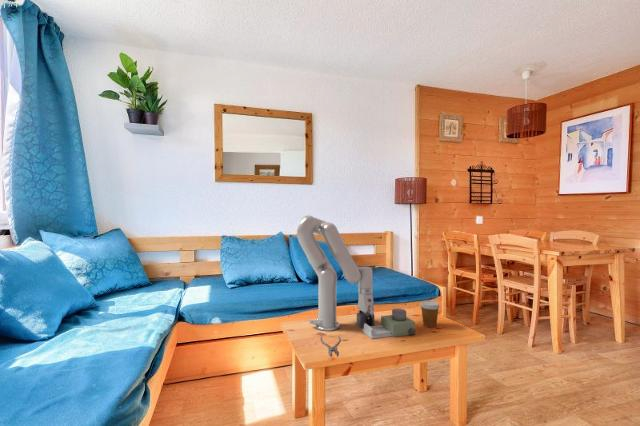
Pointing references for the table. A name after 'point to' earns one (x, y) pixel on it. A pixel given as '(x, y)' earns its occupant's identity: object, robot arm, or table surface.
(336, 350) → the pliers
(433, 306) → the disposable coffee cup
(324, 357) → the table surface
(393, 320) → the knobbed sage block
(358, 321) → the dark grey block
